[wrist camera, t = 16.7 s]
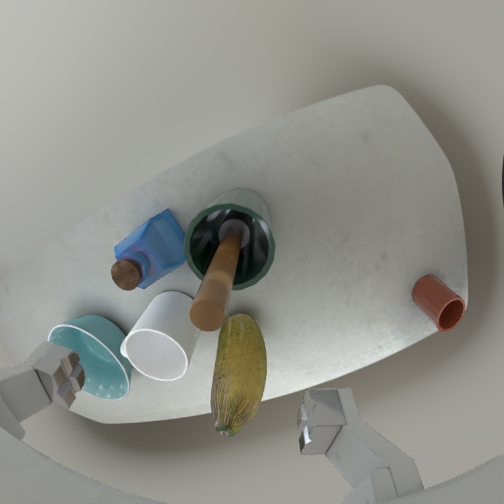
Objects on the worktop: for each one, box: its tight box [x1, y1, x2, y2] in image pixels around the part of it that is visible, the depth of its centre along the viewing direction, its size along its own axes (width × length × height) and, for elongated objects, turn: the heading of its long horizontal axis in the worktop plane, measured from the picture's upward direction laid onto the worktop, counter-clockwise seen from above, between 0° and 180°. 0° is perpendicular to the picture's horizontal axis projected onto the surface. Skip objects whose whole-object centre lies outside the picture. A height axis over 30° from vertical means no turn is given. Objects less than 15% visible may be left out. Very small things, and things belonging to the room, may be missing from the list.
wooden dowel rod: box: [189, 210, 253, 331], centre depth 23 cm, size 3×3×22 cm
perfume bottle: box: [111, 209, 186, 291], centre depth 30 cm, size 6×6×12 cm
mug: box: [120, 291, 201, 381], centre depth 35 cm, size 12×8×10 cm
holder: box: [412, 275, 465, 331], centre depth 34 cm, size 5×5×8 cm
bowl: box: [48, 315, 131, 401], centre depth 38 cm, size 16×16×8 cm
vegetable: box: [211, 313, 267, 437], centre depth 30 cm, size 6×6×20 cm
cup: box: [184, 188, 275, 290], centre depth 29 cm, size 7×8×13 cm
